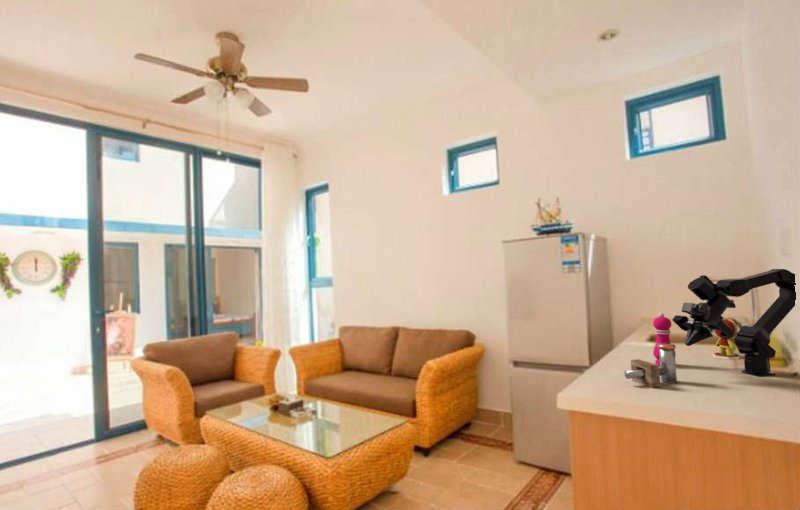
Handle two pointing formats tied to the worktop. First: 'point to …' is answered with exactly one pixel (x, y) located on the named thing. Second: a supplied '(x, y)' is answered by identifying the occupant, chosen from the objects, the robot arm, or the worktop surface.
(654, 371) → the tan wooden block
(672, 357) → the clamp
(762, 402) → the worktop surface
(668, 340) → the pepper mill
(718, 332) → the figurine
